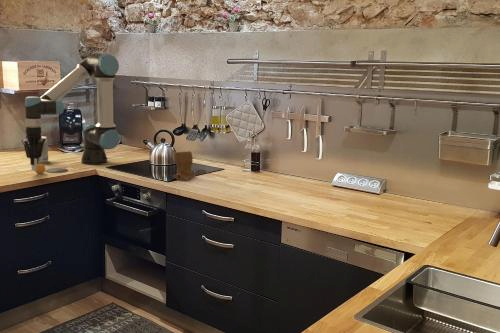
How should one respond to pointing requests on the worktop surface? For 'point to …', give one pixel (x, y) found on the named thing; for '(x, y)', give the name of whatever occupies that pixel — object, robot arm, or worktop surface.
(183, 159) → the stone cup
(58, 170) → the disc
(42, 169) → the ball
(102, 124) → the robot arm
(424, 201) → the worktop surface
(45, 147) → the supplement tub
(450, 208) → the worktop surface
